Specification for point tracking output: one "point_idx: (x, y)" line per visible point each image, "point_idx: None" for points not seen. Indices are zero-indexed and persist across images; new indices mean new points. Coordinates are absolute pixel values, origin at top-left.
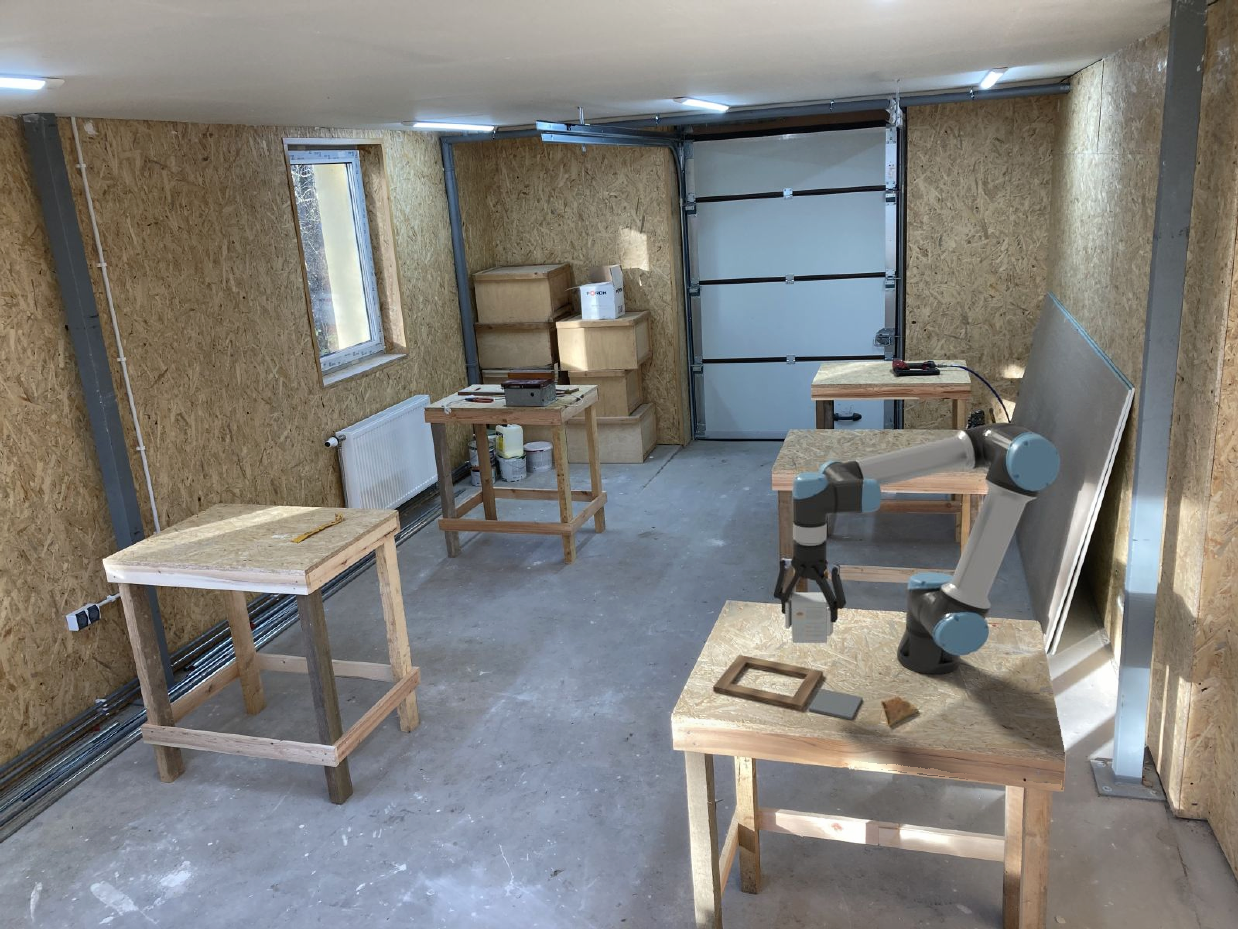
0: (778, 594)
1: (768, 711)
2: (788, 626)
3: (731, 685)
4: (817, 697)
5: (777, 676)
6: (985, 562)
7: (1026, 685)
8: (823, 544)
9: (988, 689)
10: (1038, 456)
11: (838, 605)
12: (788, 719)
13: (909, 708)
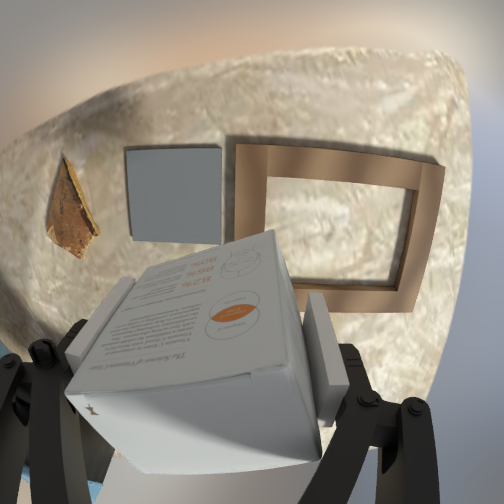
0: (404, 421)
1: (309, 111)
2: (309, 299)
3: (413, 182)
4: (215, 203)
5: (326, 270)
6: None
7: (5, 341)
8: None
9: (21, 325)
10: None
11: (13, 368)
12: (255, 93)
13: (53, 228)
